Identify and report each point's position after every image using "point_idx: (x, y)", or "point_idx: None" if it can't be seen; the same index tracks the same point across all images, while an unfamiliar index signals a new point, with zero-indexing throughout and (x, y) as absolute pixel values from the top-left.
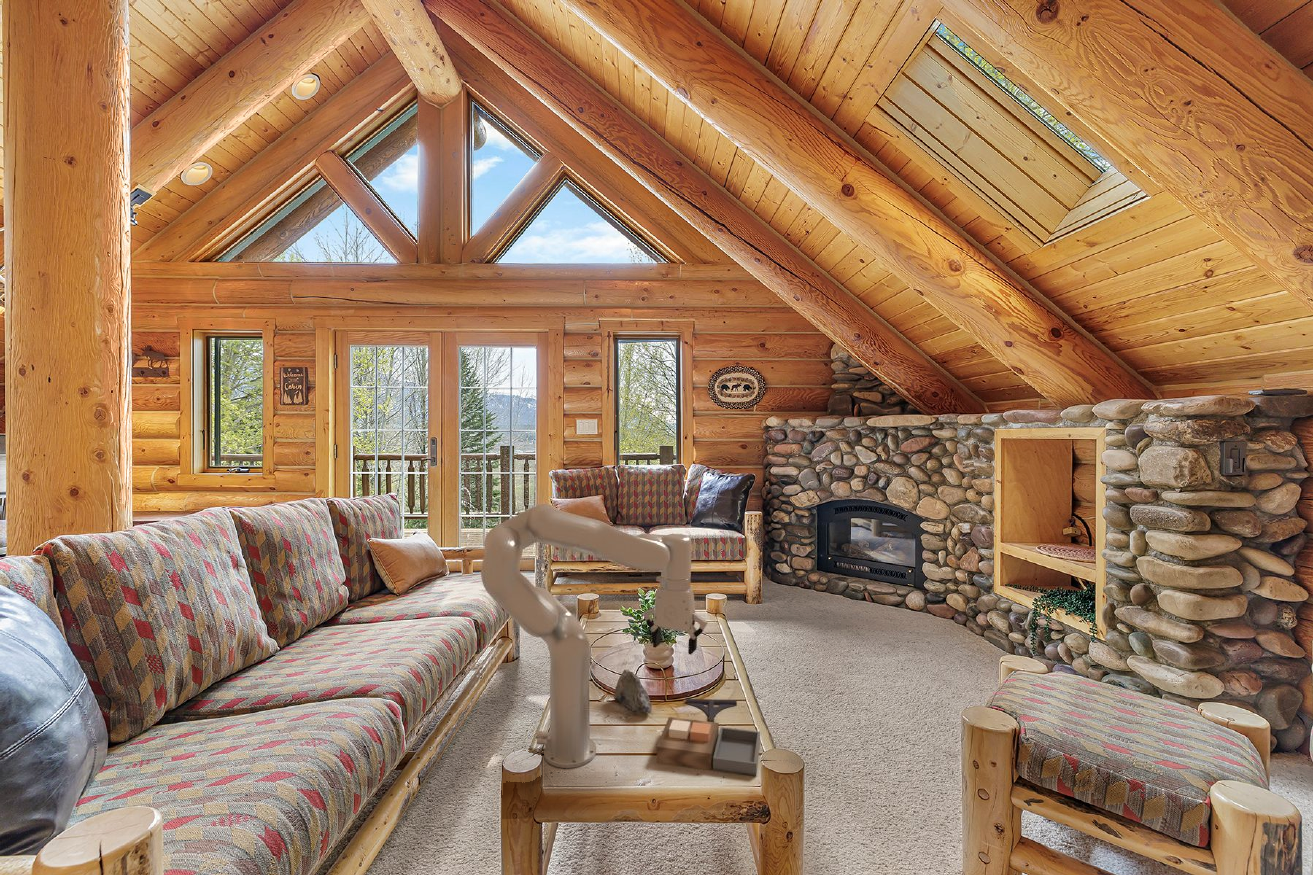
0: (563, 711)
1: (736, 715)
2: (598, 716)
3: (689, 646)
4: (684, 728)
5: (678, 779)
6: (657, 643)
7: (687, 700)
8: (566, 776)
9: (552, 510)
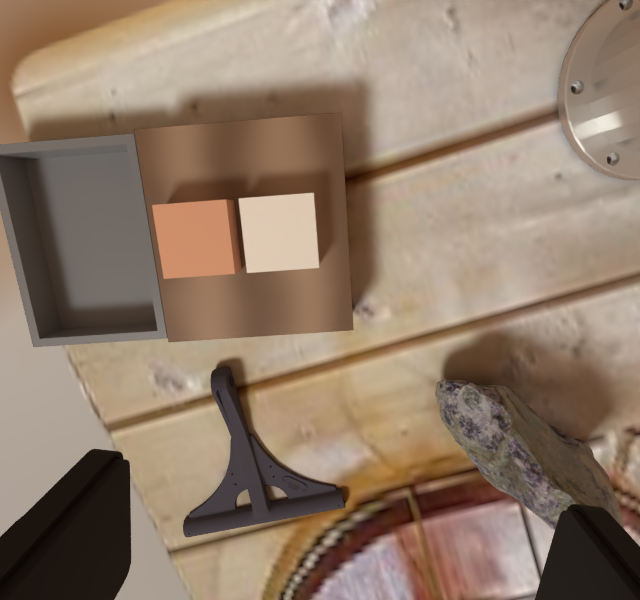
0: None
1: (171, 463)
2: (608, 338)
3: (45, 522)
4: (254, 216)
5: (244, 56)
6: (570, 575)
7: (337, 498)
8: None
9: None
